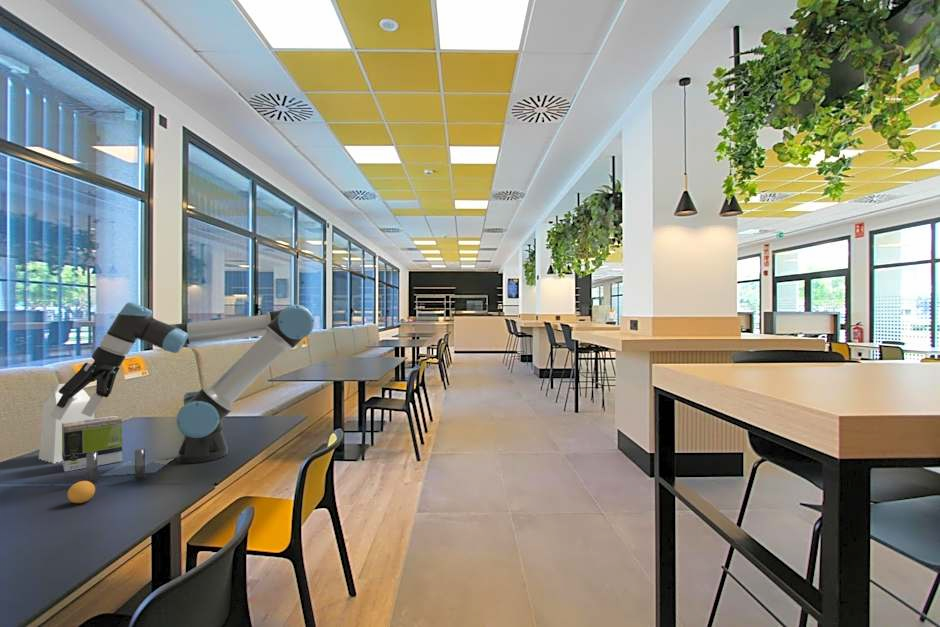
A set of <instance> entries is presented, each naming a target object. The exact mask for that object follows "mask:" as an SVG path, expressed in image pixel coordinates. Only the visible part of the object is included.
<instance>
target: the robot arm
mask: <svg viewBox="0 0 940 627" xmlns="http://www.w3.org/2000/svg"><path fill="white" fill-rule="evenodd" d="M152 316H153V311H152V310H151V309H149V308H147V307H144V306H142V305H140V304H138V303H135V302H127V303H126V304H125V305H124V306H123V307H122V309H120V312H118V314H117V316H116V317H115V319H114V321H113V323H111V326H110V327H109V329H108V330H107V332H106V334H104V335H103V337H102V340H101V341H100V342H99V346H97V348H96V349H95V350H94V352H93V353H92V355H91V359H92V360H93V362H92V364H91V363H89V362H84V364H83V365H82V366H81V368H80V369H79V370H78V371H77V372H76V373H75V374H74V375H72V377H71V378H70V379H68V381H66V383H64V384H65V385H64V386H63V387H62V388H61V389H60V390H59V393H60V394H63V395H62V397H61V398H60V400H59V401H58V403H57V405H56V406H55V408H54V409H53V411H52V412H51V414H50V415H49V416H51V417H53V418H56V419H58V420H61V418H62V417H63V415H64V414H65V412H66V410H67V409H68V407H69V406H70V404H71V403H72V401H73V399H74V398H73V396H74V395H76V394H77V393H78V392H79V391H80V390H82V389H84V388H85V387H87V386H88V385H89V384H91V383H92V382H95V381H96V386H95V387H96V388H95V393H92V395H91V396H90V400H89V401H88V403H87V404H86V406H85V408H84V409H83V411H82V412H81V413H82V414H84V415H87V416H89V417H91V416H92V414H93V413H94V414H95V411H96V410H97V408H98V406H99V405H100V404H101V401H102V400H103V398H108V397H109V396H110V394H111V393H112V389H113V386H114V384H115V381H116V377H117V375H118V372H119V370H120V366H121V365H122V363H124V362H123V361H124V360H125V359H126V355H128V354H129V353H130V351H131V349H132V348H133V346H134V344H135V343H136V341H137V340H140V341H142V342H145V343H147V344H150V345H153V346H154V347H157V348H160V349H162V350H164V351H166V352H170V353H172V354H178V353H179V352H180V351H181V349H182V348H183V347H184V346H187V345H194V344H203V343H210V342H211V343H213V342H221V341H228V340H229V341H230V340H236V339H247V338H253V337H254V338H255V337H260V338H259V339H258V340H257V341H256V342H255V343H254V344H253V346H251V347H250V348H249V349H248V350H247V351H245V353H243V355H242V356H241V357H240V358H239V359H238V360H237V361H235V363H234V364H232V366H231V367H230V368H228V369H227V370H226V372H224V373H223V374H222V375H221V376H220V377H219V378H218V379H217V380H216V381H215V382H214V383H213V384H212V385H210V386H204V387H202V388H201V389H200V390H199V391H190V392H186V393H184V396H183V399H182V401H183V405H182V407H181V408H180V409H179V410H178V413H177V414H176V426H177V428H178V430H179V432H181V433H182V434H183V438H182V441H181V444H180V447H179V450H178V453H177V461H178V462H180V463H185V464H195V463H196V464H197V463H205V462H210V460H211V461H214V460H218V458H219V459H221V458H224V457H225V455H226V454H227V453H228V452H229V451H228V449H229V448H228V444H227V441H226V439H225V437H224V433H223V420H224V419H225V418H226V416H228V415H229V414H230V413H231V411H233V403H234V402H235V401H236V400H237V399H238V398H239V397H241V395H242V394H243V393H244V392H245V391H246V390H247V389H248V388H249V387H250V386H251V385H252V384H253V383H255V381H256V380H257V379H258V378H259V377H260V376H261V375H262V374H263V373H264V372H265V371H266V370H267V369H268V368H269V367H270V366H271V365H272V364H273V363H274V362H275V360H277V359H278V358H279V357H280V356H281V355H282V354H283V353H284V351H286V350H293V348H295V347H296V346H297V345H298V344H299V343H300V342H301V341H302V340H303V339H304V338H306V337H308V336H309V335H310V334H311V333H312V331H313V329H314V325H315V318H314V316H313V314H312V312H311V311H310V310H309V309H308V308H307V307H306V306H304V305H300V304H290V305H289V306H286V307H285V308H283V309H279V310H274V311H268V312H267V313H265V314H262V315H253V316H252V315H250V316H242V317H240V316H239V317H234V318H233V317H232V318H223V319H214V320H213V319H212V320H204V321H193V322H184V323H175V324H174V323H172V324H168V323H165V322H163V321H161V320H158V319H155V318H154V317H152ZM227 455H228V454H227ZM227 455H226V456H227ZM223 456H224V457H223Z"/></svg>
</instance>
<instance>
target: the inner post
mask: <svg viewBox="0 0 940 627" xmlns="http://www.w3.org/2000/svg"><path fill="white" fill-rule="evenodd" d="M145 460H146V449H145V448H137V449H135V450H134V461H135V474H134V482H135V481H138V482H143V481H144V480H146V479H145V478H146V473H145ZM142 480H143V481H142Z"/></svg>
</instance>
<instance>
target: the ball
mask: <svg viewBox="0 0 940 627" xmlns="http://www.w3.org/2000/svg"><path fill="white" fill-rule="evenodd" d="M95 493H96V486H95V484H92V483H91V482H89V481H86V480H82V481H78V482H76V483H74V484H72V485H71V486H70V487H69V489H68V491H67V498H68V500H69V501H70V502H71V503H74V504H83V503H86V502H88V501H89V500H91V498H93V496H94V495H95Z"/></svg>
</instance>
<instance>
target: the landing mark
mask: <svg viewBox="0 0 940 627" xmlns="http://www.w3.org/2000/svg"><path fill="white" fill-rule="evenodd" d="M132 461H133V460H128V463H130V464H128V463H125V462H123V463H124V464H123V463H121V464H119V465H118V466H116V467H114V468H112V469H110V470H108V471H107V472H105V473H103V474H102V475H100V476H101V477H112V476H113V475H116V476H128V475H127V474H130V475H135V466H134V464H132V463H131V462H132ZM154 462H155V461H153V462H150V463H149V464H147V465H146V466H145V474H156V472H158V471H160V470H161V469H163V468H165V467H166V466H167V465H168V464H160V463H154ZM165 465H166V466H165ZM162 467H163V468H162ZM159 469H160V470H159ZM113 477H114V476H113Z"/></svg>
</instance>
